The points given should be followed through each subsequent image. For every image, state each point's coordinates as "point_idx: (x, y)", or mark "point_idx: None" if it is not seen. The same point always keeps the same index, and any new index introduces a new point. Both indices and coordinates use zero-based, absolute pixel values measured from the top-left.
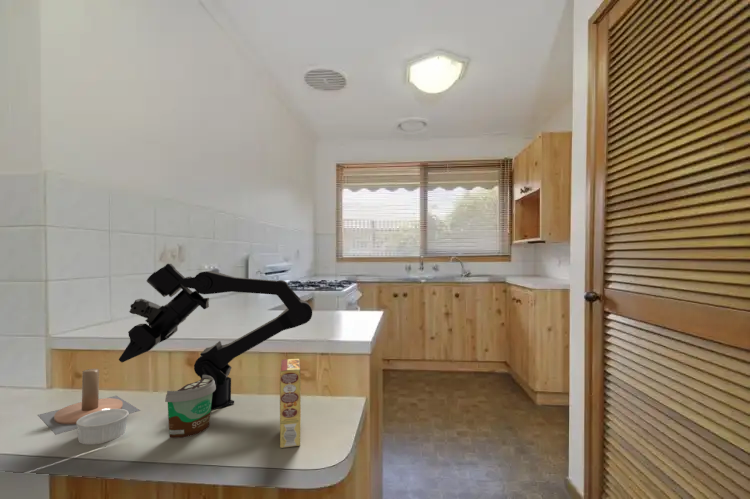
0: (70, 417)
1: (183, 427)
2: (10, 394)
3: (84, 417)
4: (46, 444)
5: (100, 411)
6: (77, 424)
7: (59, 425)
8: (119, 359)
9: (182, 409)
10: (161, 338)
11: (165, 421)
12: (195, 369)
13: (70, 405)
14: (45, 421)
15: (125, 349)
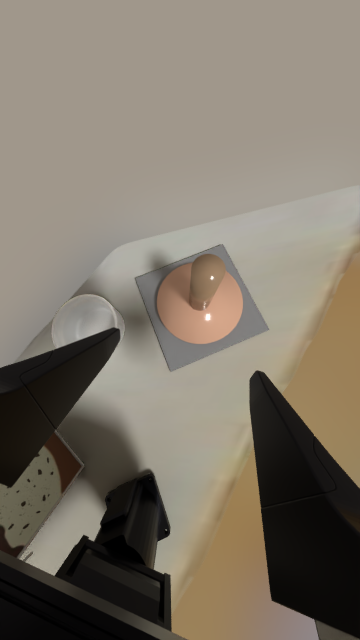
0: (171, 282)
1: None
2: (343, 192)
3: (102, 301)
4: (116, 275)
5: (114, 318)
6: (73, 297)
7: (165, 276)
8: (112, 329)
9: None
10: (279, 563)
11: (107, 409)
12: (77, 567)
13: (227, 273)
14: (190, 258)
15: (59, 348)
